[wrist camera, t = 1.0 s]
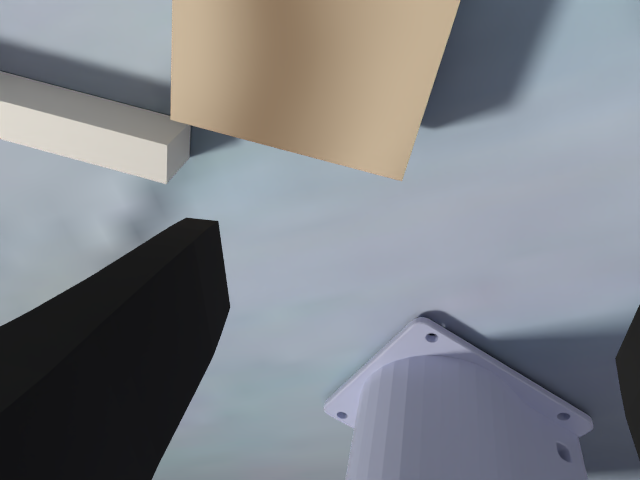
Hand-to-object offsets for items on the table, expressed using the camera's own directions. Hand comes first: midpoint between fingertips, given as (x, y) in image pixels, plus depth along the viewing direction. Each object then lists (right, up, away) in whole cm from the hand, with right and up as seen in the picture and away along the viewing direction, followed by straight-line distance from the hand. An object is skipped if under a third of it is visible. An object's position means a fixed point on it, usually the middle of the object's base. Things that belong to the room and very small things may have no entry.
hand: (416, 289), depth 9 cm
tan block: (-2, +7, +7) cm, 10 cm away
